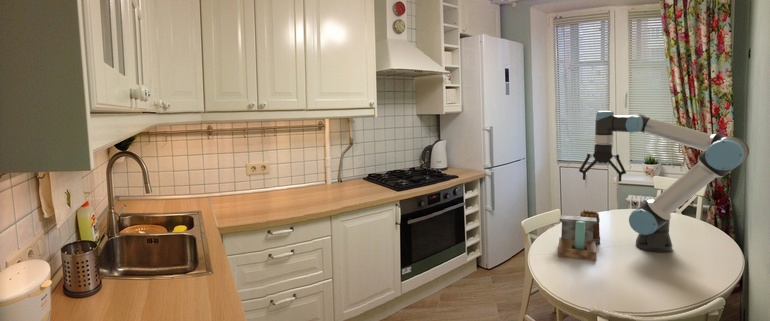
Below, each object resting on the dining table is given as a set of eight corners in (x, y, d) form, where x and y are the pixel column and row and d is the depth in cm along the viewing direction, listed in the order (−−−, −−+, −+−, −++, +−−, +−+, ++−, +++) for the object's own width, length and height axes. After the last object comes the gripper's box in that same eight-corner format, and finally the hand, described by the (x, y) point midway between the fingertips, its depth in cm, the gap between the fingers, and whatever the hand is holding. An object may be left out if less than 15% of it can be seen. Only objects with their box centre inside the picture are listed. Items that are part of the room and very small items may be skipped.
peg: (583, 254, 208) (585, 221, 206) (583, 257, 204) (585, 223, 202) (574, 253, 210) (575, 220, 207) (574, 256, 206) (575, 222, 204)
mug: (602, 245, 219) (604, 216, 217) (579, 244, 221) (580, 215, 219) (594, 235, 234) (595, 207, 232) (573, 235, 236) (574, 207, 234)
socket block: (594, 248, 216) (596, 217, 213) (596, 260, 200) (597, 227, 198) (559, 244, 222) (560, 215, 220) (557, 256, 206) (558, 224, 204)
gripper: (632, 143, 213) (629, 187, 216) (574, 142, 222) (573, 184, 225) (634, 145, 206) (631, 190, 209) (574, 143, 215) (573, 187, 218)
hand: (601, 187), depth 217 cm, fingers open, 13 cm apart
